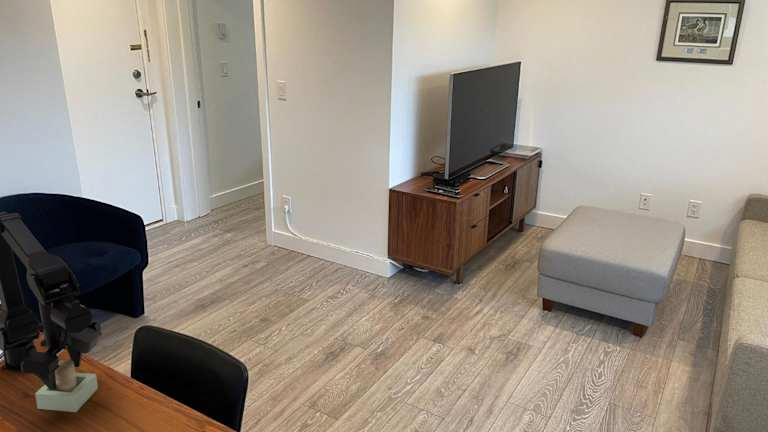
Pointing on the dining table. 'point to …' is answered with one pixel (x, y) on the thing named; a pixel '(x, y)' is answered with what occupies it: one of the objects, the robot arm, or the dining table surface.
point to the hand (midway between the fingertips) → (65, 377)
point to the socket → (68, 394)
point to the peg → (66, 376)
